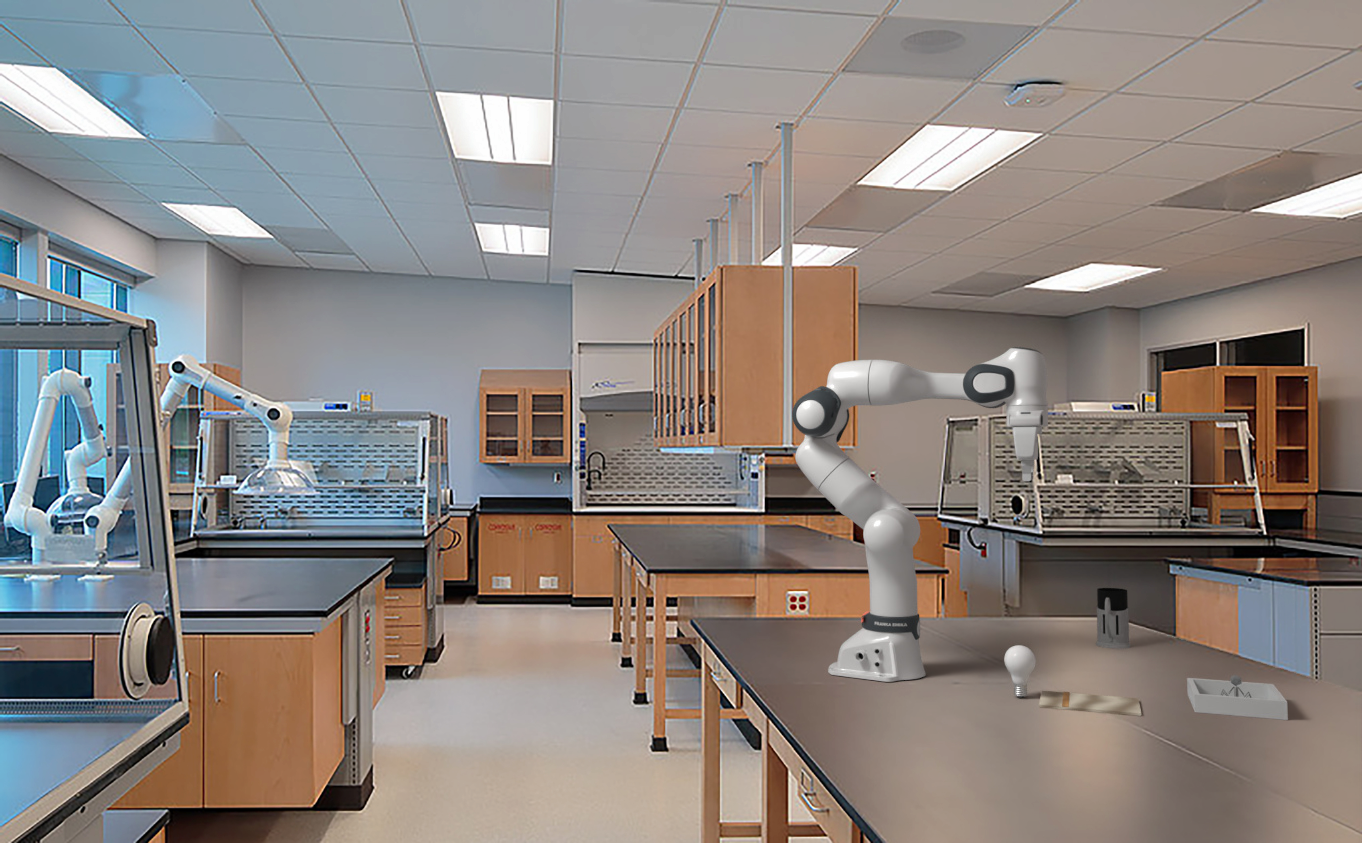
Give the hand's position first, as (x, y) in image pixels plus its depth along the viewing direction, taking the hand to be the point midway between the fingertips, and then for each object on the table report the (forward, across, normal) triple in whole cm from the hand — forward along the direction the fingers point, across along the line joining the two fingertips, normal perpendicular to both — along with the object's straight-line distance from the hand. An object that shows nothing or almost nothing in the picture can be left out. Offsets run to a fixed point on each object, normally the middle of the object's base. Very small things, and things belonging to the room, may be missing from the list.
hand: (1028, 480), depth 222 cm
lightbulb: (+46, +12, -2) cm, 48 cm away
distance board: (+46, +13, +12) cm, 49 cm away
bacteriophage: (+46, +4, +40) cm, 61 cm away
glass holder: (+46, -55, +18) cm, 74 cm away
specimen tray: (+46, +4, +40) cm, 60 cm away
